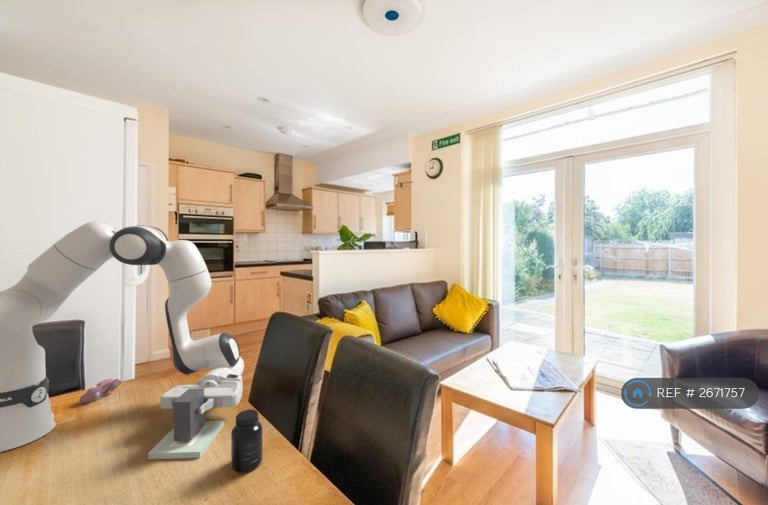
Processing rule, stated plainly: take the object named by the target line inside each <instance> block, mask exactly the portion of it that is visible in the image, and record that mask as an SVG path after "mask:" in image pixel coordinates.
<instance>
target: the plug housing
mask: <svg viewBox="0 0 768 505" xmlns="http://www.w3.org/2000/svg"><path fill="white" fill-rule="evenodd" d="M202 404H204V388H199V389H188V390H187V391H186V392H184V393H183V394H182V395H181V396H180V397H179V398H178V399H176V400H175V401H174V402H173V411H172V412H173V428H174V441H191V440H192V439H193V437H194V436H195V435H196V434H197V433H198V431H199V430H200V429H201V428H202V427H203V426H204V424H205V421H206V419H205V417H206V416H205V412H204V413H203V414H196V407H198V405H202Z"/></svg>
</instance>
